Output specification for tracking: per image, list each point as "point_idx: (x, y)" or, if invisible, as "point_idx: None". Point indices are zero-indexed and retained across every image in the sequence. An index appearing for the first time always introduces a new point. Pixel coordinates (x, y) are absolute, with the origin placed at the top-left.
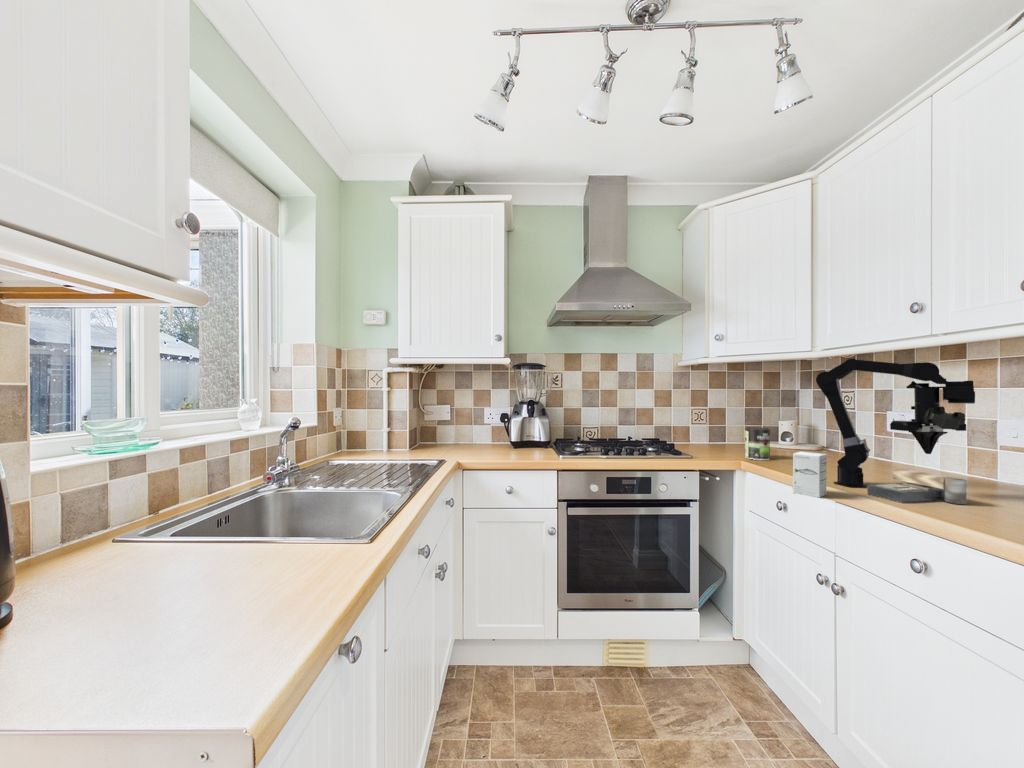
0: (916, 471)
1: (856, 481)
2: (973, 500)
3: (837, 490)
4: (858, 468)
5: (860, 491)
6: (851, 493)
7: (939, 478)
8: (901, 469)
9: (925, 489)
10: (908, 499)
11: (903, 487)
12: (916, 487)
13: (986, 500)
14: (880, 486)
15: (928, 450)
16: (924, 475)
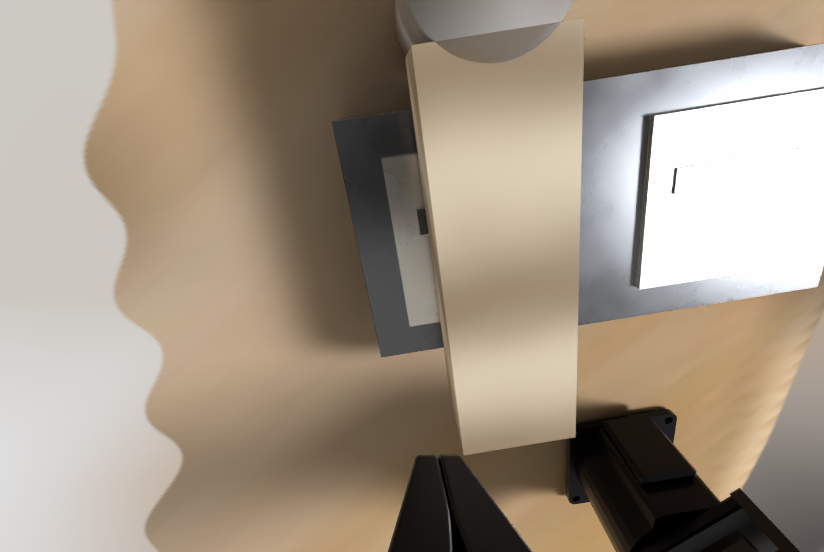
0: (458, 374)
1: (662, 431)
2: (233, 97)
3: (803, 354)
4: (692, 510)
5: (708, 334)
6: (810, 292)
7: (582, 59)
8: (495, 445)
9: (585, 133)
10: (771, 51)
11: (731, 164)
12: None
13: (134, 93)
14: (799, 235)
15: (483, 494)
16: (578, 207)
